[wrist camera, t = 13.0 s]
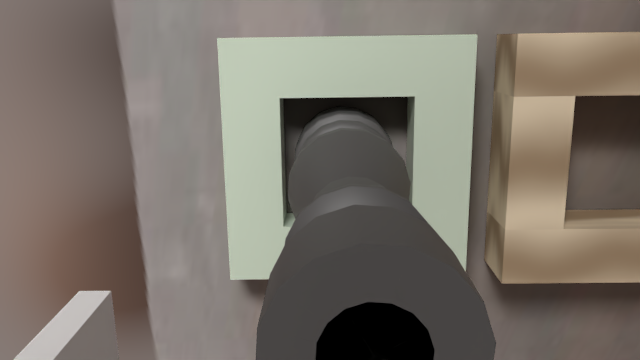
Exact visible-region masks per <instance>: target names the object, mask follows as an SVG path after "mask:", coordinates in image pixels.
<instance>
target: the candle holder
mask: <svg viewBox="0 0 640 360" xmlns="http://www.w3.org/2000/svg"><path fill="white" fill-rule="evenodd" d="M410 185H411V182H410V179H409V176H408V173H407V170H406V166H405V163H404V160H403V159H402V157H401V156H400V155H399V154H398V153H397V152H396V150H395V149H394V148H393V146H392V143H391V140H390V138H389V136H388V135H387V133H386V132H385V130H384V129H383V128H382V127H381V125H380V124H379V123H378V122H377V121H376V120H375V118H374V117H373V116H371V115H369V114H367V113H365V112H363V111H361V110H359V109H357V108H350V107H335V108H332V109H329V110H326V111H323V112H320V113H319V114H318V115H316V116H315V117H314V118H313V119H312V120H311V121H310V122H308V123H307V124H306V125H305V127H304V129H303V131H302V133H301V135H300V137H299V139H298V142H297V145H296V149H295V160H294V165H293V167H292V169H291V171H290V173H289V183H288V201H289V203H290V206H291V209H292V212H293V214H294V217H295V221H294V223H293V225H292V227H291V229H290V231H289V233H288V235H287V237H286V239H285V246H284V248H283V250H282V252H281V254H280V256H279V258H278V259H277V261H276V263H275V265H274V267H273V269H272V271H271V273H270V276H269V280H268V285H267V289H266V293H265V297H264V301H263V306H262V310H261V314H260V318H259V322H258V327H257V344H256V360H493V359H494V353H495V346H496V342H495V338H494V335H493V331H492V328H491V325H490V321H489V318H488V314H487V311H486V308H485V304H484V301H483V300H482V298H481V296H480V295H479V293H478V291H477V290H476V288H475V286H474V285H473V283H472V281H471V280H470V278H469V276H468V275H467V273H466V272H465V270H464V268H463V267H462V265H461V263H460V262H459V260H458V258H457V257H456V255H455V253H454V252H453V251H452V250H451V248H450V247H449V246H448V245H447V244H446V243H445V242H444V240H443V239H442V238H441V237H440V236H439V235H438V234H437V232H436V231H435V230H434V229H433V228H432V227H431V226H430V224H428V222H427V221H426V220H425V219H424V217H423V216H422V215H421V214H420V213H419V212H418V211H417V209H416V208H415V207H414V206H413V205H412V204H411V203H410V201H409V195H410Z"/></svg>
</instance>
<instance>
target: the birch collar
mask: <svg viewBox="0 0 640 360" xmlns="http://www.w3.org/2000/svg"><path fill="white" fill-rule="evenodd" d="M615 95H640V32H601V33H532V34H497V46H496V64H495V81H494V99H493V117H492V134H491V152H490V169H489V187H488V205H487V222H486V240H485V257H484V260H485V261H486V263H487V264H488V265H489V267H490V268H491V270H492V271H493V272H494V274H495V275H496V276H497V278H498V279H499V281H500V282H501V283H502V284H517V283H626V282H640V209H612V210H565V206H566V195H567V184H568V173H569V162H570V150H571V139H572V128H573V117H574V106H575V96H615Z"/></svg>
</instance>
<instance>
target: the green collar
mask: <svg viewBox="0 0 640 360" xmlns="http://www.w3.org/2000/svg"><path fill="white" fill-rule="evenodd" d="M217 44H218V62H219V80H220V99H221V117H222V135H223V154H224V172H225V190H226V208H227V227H228V245H229V263H230V280H248V279H269V276H270V273H271V271H272V269H273V267H274V265H275V263H276V261H277V259H278V258H279V256H280V254H281V252H282V250H283V248H284V246H285V239H286V237H287V235H288V233H289V231H290V229H291V227H292V225H293V223H294V221H295V217H294V214H293V213H287V209H286V175H285V140H284V106H283V98H336V97H408V108H407V154H406V170H407V173H408V176H409V179H410V182H411V185H410V195H409V201H410V203H411V204H412V205H413V206H414V207H415V208H416V209H417V211H418V212H419V213H420V214H421V215H422V216H423V217H424V219H425V220H426V221H427V222H428V224H430V226H431V227H432V228H433V229H434V230H435V231H436V232H437V234H438V235H439V236H440V237H441V238H442V239H443V240H444V242H445V243H446V244H447V245H448V246H449V247H450V248H451V250H452V251H453V252H454V253H455V255H456V257H457V258H458V260H459V262H460V263H461V265H462V267H463V268H464V270H465V272H466V257H467V237H468V217H469V196H470V176H471V155H472V135H473V114H474V94H475V74H476V53H477V34H472V35H404V36H335V37H266V38H217Z"/></svg>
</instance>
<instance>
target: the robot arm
mask: <svg viewBox="0 0 640 360" xmlns="http://www.w3.org/2000/svg"><path fill="white" fill-rule="evenodd" d="M14 360H119V355H118V347H117V337H116V330H115V320H114V311H113V303H112V294H111V291H79V292H78V293H77V294H76V295H75V297H73V298H72V299H71V300H70V301H69V303H68V304H67V305H66V306H65V307H64V308H63V309H62V310H61V311H60V312H59V313H58V314H57V315H56V316H55V317H54V318H53V319H52V320H51V321H50V322H49V323H48V324H47V325H46V327H44V328H43V330H41V331H40V333H39V334H38V335H37V336H36V337H35V338H34V339H33V340H32V341H31V342H30V343H29V344H28V345H27V346H26V347H25V348H24V349H23V350H22V351H21V352H20V353H19V354H18V355H17V356H16V357H15V358H14Z"/></svg>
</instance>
